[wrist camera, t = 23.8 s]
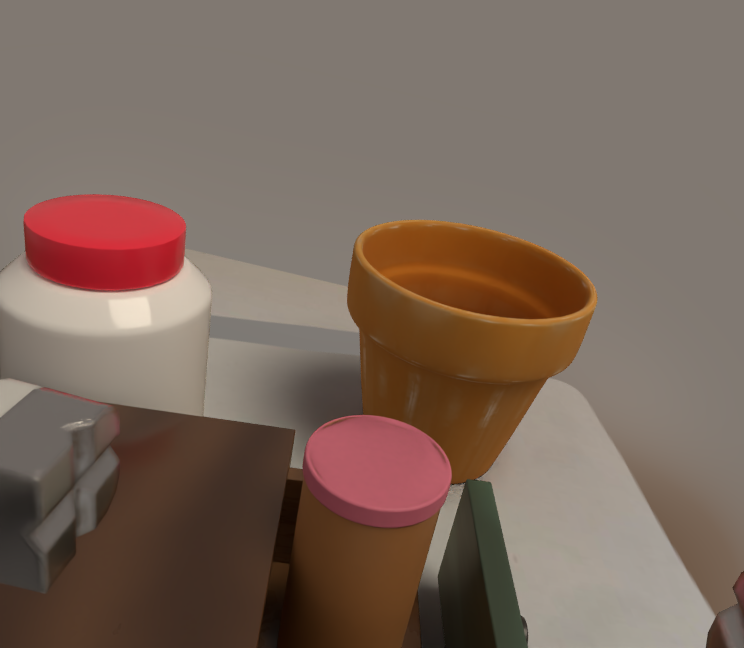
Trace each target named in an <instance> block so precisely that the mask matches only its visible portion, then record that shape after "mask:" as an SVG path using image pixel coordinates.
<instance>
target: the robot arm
mask: <svg viewBox="0 0 744 648" xmlns="http://www.w3.org/2000/svg"><path fill="white" fill-rule="evenodd" d="M119 434H120V416H119V411H118V410H117V409H116V408H115V407H114V406H112V405H108V404H105V403H101V402H97V401H94V400H90V399H86V398H83V397H79V396H76V395H72V394H68V393H65V392H61V391H57V390H54V389H50V388H46V387H43V388H42V387H40V386H37V385H34V384H30V383H26V382H22V381H18V380H15V379H11V378H7V379H1V380H0V583H3V584H7V585H11V586H15V587H19V588H23V589H28V590H32V591H36V592H40V593H44V594H46V593H47V591H48V590H49V589H50V587H51V586H52V585H53V584H54V582H55V581H56V580H57V578H58V577H59V576H60V574H61V573H62V572H63V571H64V569H65V568H66V567H67V565H68V564H69V563H70V561H71V560H72V559H73V558H74V556H75V555H76V537H78V536H81V535H83V534H85V533H87V532H90V531H92V530H94V529H96V527H97V526H98V525H99V523H100V522H101V520H102V519H103V518H104V516H105V515H106V514H107V512H108V510H109V507H110V505H111V503H112V500H113V498H114V496H115V494H116V491H117V486H118V481H119V476H120V459H119V458H118V456H117V455H116V453H115V452H114V450H113V449H112V447H111V446H110V444H111V443H112V442H113V441H114V440H115V438H116V437H117V436H118V435H119ZM733 590H734V593H735V596H736V599H737V602H738V604H736V605H734V606H732V607H729V608H727V609H725V610H723V611H721V612H719V613H718V614H717V616H716V618H715V620H714V622H713V624H712V626H711V628H710V630H709V632H708V637H707V643H706V648H744V571H743V572H742V573H741V574H740V576H739V578H738V580H737V581H736V583H735V585H734V586H733Z"/></svg>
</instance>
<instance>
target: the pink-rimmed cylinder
mask: <svg viewBox="0 0 744 648" xmlns="http://www.w3.org/2000/svg"><path fill="white" fill-rule="evenodd" d="M303 476H304V477H303V484H302V490H301V496H300V502H299V509H298V515H297V521H296V527H295V534H294V540H293V546H292V552H291V559H290V565H289V571H288V577H287V584H286V590H285V596H284V602H283V609H282V615H281V621H280V627H279V634H278V640H277V648H401V647H402V643H403V640H404V636H405V632H406V629H407V625H408V622H409V618H410V615H411V611H412V608H413V604H414V601H415V597H416V593H417V590H418V586H419V583H420V579H421V576H422V572H423V569H424V565H425V562H426V558H427V554H428V551H429V547H430V544H431V540H432V537H433V533H434V530H435V526H436V523H437V519H438V515H439V512H440V508H441V507H442V505H443V504H444V502H445V500H446V497H447V494H448V491H449V487H450V484H451V478H452V470H451V466H450V462H449V460H448V458H447V456H446V454H445V452H444V451H443V450H442V448H441V447H440V446H439V445H438V444H437V443H436V442H435V441H434V440H433V439H432V438H430V437H429V436H428V435H427V434H425V433H423V432H422V431H420V430H419V429H417V428H415V427H413V426H411V425H408V424H406V423H404V422H401V421H398V420H394V419H391V418H386V417H381V416H373V415H352V416H345V417H341V418H337V419H334V420H331V421H329V422H327V423H325V424H323V425H322V426H320V427H319V428H318V429H317V430H316V431H315V432H314V433H313V434H312V435H311V437H310V438H309V440H308V442H307V444H306V448H305V453H304V459H303Z"/></svg>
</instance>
